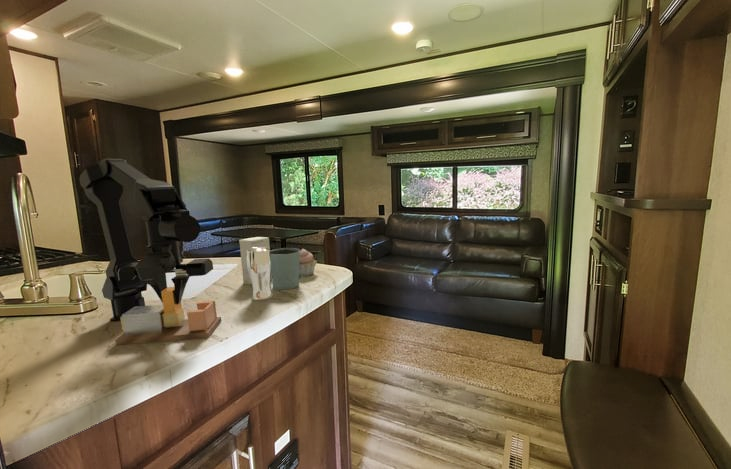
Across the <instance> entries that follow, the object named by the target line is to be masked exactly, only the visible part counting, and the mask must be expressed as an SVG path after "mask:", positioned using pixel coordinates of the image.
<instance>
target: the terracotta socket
mask: <svg viewBox="0 0 731 469" xmlns="http://www.w3.org/2000/svg"><path fill="white" fill-rule="evenodd" d="M186 313H187V314H186V315H187V316H186V317H187V319H188V324H189V331H198V330H204V331H207V330H208V329H209V328H210V327H211V326H212V324H213V323H214V322H215V321H216V319H217V317H218V315H217V307H216V301H215V300H207V301H205V300H204V301H197V302H196V309H194V310H193V309H191V310H188V311H186Z"/></svg>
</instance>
